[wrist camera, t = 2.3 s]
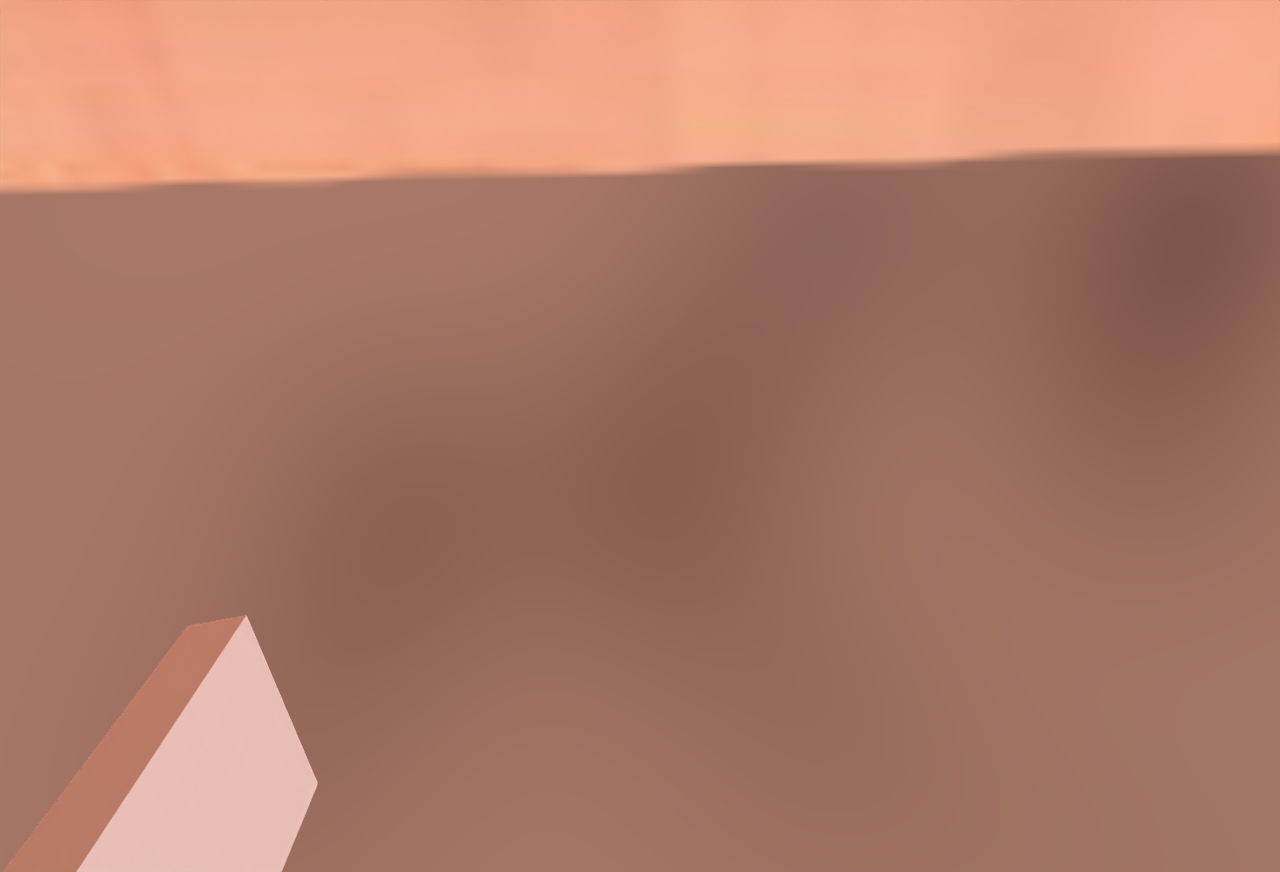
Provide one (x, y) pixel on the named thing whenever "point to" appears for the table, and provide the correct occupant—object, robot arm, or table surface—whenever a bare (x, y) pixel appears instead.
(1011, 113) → the table surface
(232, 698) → the robot arm
